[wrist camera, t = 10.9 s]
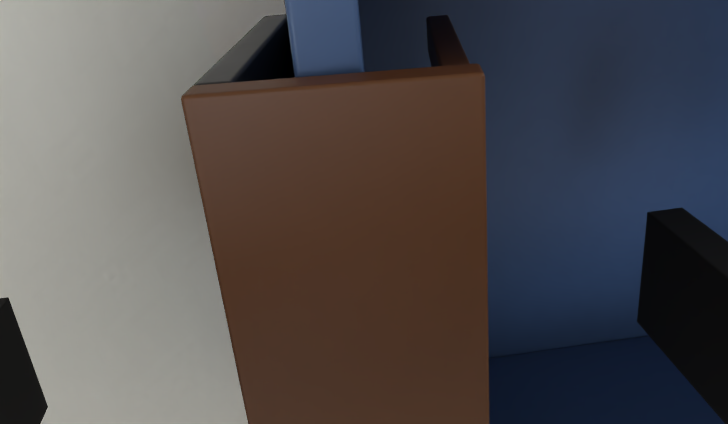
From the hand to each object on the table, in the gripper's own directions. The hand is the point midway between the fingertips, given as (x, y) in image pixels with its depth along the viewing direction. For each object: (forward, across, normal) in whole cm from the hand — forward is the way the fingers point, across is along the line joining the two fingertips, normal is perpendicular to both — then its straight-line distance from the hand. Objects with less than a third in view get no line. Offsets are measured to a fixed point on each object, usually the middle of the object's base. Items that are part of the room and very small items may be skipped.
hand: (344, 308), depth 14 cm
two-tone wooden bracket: (+3, +1, 0) cm, 4 cm away
